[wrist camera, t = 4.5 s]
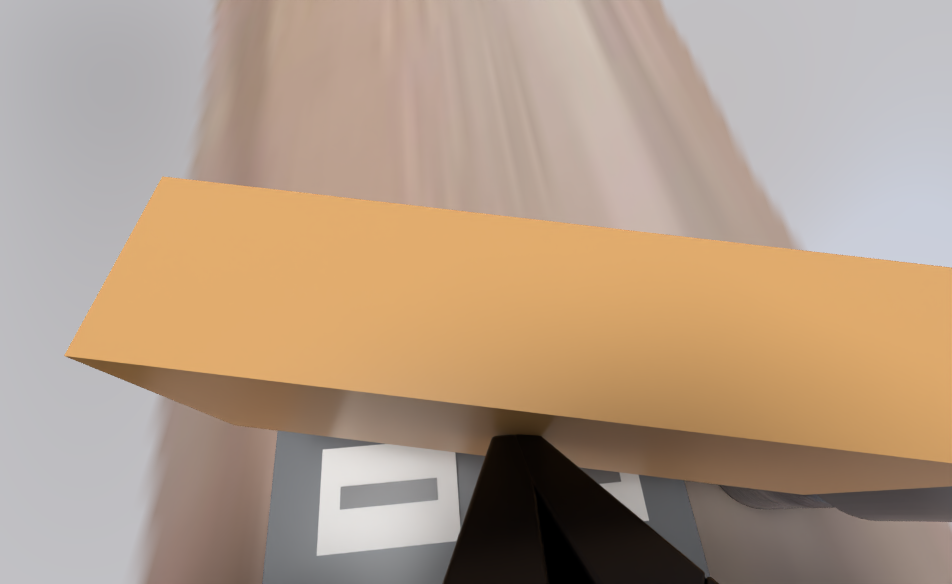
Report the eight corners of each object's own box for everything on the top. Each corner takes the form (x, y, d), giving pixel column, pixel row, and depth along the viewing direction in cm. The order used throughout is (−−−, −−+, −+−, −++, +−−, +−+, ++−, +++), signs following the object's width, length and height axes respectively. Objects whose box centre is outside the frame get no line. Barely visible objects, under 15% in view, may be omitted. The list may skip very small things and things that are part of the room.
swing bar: (899, 380, 12) (1251, 273, 7) (946, 529, 11) (1457, 544, 5) (287, 307, 12) (159, 148, 7) (243, 443, 11) (31, 371, 5)
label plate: (640, 367, 17) (654, 355, 15) (698, 592, 13) (723, 601, 12) (292, 394, 16) (277, 384, 14) (269, 645, 12) (249, 659, 11)
